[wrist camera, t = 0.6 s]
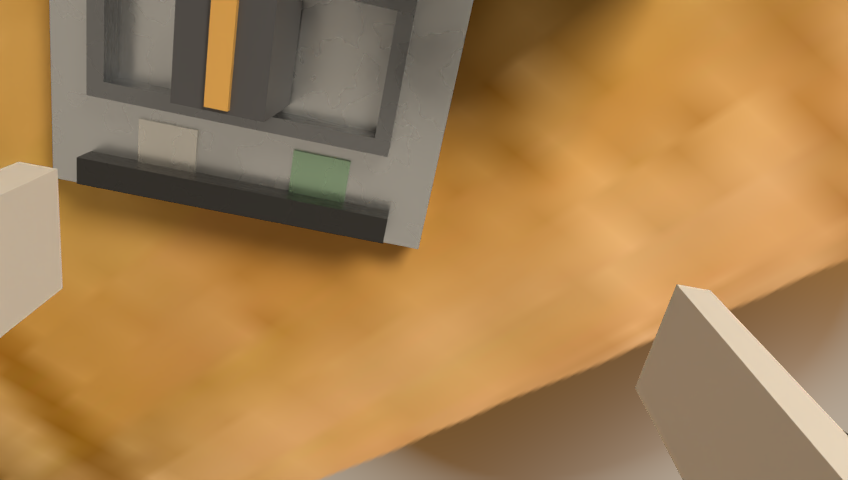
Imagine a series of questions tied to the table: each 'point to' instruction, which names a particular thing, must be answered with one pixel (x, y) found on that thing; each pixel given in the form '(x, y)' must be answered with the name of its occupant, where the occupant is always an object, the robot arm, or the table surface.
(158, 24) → the breaker panel
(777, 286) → the table surface
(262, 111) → the breaker toggle
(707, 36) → the table surface
